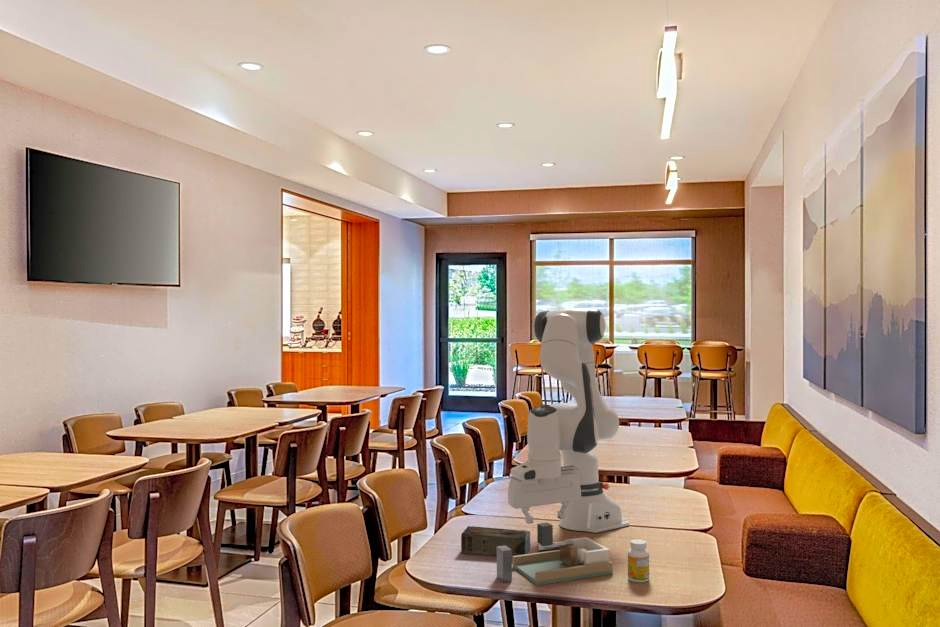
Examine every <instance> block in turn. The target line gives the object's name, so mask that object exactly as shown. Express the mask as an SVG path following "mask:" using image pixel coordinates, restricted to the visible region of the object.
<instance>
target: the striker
mask: <svg viewBox="0 0 940 627" xmlns="http://www.w3.org/2000/svg"><path fill="white" fill-rule="evenodd" d="M536 525H537V526H536V529H537V537H536V538H537V539H536V540H537V543H538V544H536V548H537V551H539V550H546V549H554V548H560V561H561V562H563V563H564V564H566V565H567V566H569V567H575V566H578V556H577V547H576V546H575V545H573V541H572V540H568V539H565V540H566V541H564V540H560V541H554V540H553V538H554V536H553V535H554V533H553V530H554V527H553V524H551V523H549V522H541V523H537V524H536Z"/></svg>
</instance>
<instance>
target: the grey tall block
mask: <svg viewBox="0 0 940 627" xmlns="http://www.w3.org/2000/svg"><path fill="white" fill-rule="evenodd" d="M496 578H497V579H498V580H500V581H501V582H502V583H507V582H512V581H513V557H512V550H511V549H510V548H508V547H507V546H506V545H504V546H497V556H496Z"/></svg>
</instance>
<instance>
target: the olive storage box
mask: <svg viewBox="0 0 940 627" xmlns="http://www.w3.org/2000/svg"><path fill="white" fill-rule="evenodd" d="M460 541H461V542H460V545H461V546H460V548H461V550H460V551H461V554H463V553H468V554H467V555H475V554H483V555H482V556H487V555H495V556H494V557H497V546H504V545H506V546H507V547H508V548H510V549H511V550H512V558H513V556H517V555H524V554H529V553H530V551H531V531H529V530H525V529H524V530H523V529H521V530H518V529H508V528H498V527H486V526H485V527H483V526H475V525H474V526H473V525H472V526H471V525H468V526H467V527H466V528H465V529H464V531H462V533H461V538H460ZM528 552H529V553H528Z"/></svg>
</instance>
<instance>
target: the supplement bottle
mask: <svg viewBox="0 0 940 627" xmlns="http://www.w3.org/2000/svg"><path fill="white" fill-rule="evenodd" d="M627 578H628V580H629V581H631V582H634V583H647V582H648V581H649V580H650V552H649V550H648V549H647V541H646V540H644V539H639V538H638V539H632V540H630V548H629V549H628V550H627Z"/></svg>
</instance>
